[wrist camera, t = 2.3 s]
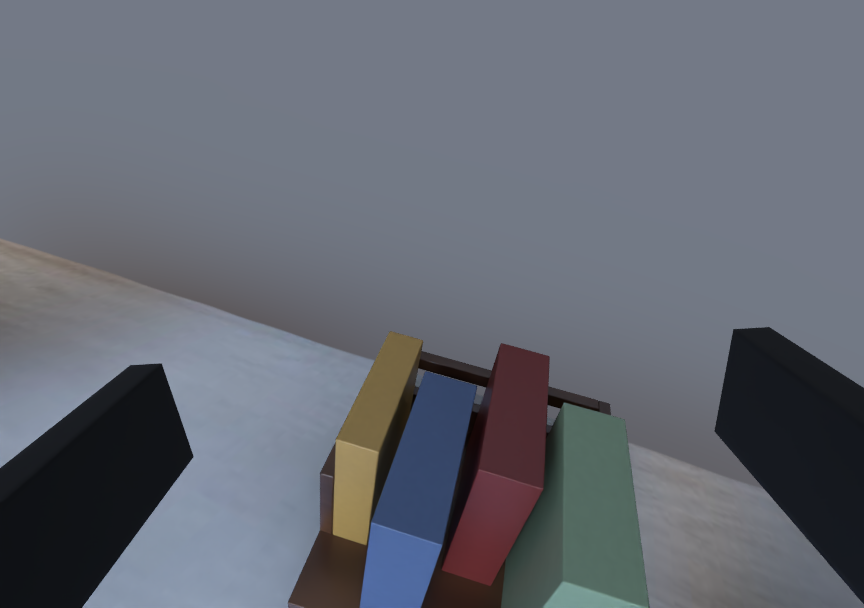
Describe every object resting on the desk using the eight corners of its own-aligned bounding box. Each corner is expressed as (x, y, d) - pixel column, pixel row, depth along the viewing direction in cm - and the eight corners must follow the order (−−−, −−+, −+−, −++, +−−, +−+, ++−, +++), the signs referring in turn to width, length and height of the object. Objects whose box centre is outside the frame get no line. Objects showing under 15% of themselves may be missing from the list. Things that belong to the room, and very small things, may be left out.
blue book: (411, 633, 24) (442, 546, 18) (358, 615, 24) (370, 523, 18) (447, 484, 31) (477, 385, 25) (405, 471, 32) (425, 370, 26)
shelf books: (490, 586, 27) (544, 489, 20) (331, 534, 28) (335, 426, 21) (506, 457, 34) (549, 355, 27) (380, 420, 35) (393, 313, 28)
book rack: (567, 718, 25) (637, 668, 19) (289, 621, 26) (281, 549, 21) (566, 477, 36) (610, 403, 31) (376, 420, 38) (385, 340, 33)
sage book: (555, 692, 23) (650, 610, 16) (493, 671, 23) (562, 582, 17) (558, 524, 30) (625, 418, 24) (510, 509, 31) (563, 401, 24)
